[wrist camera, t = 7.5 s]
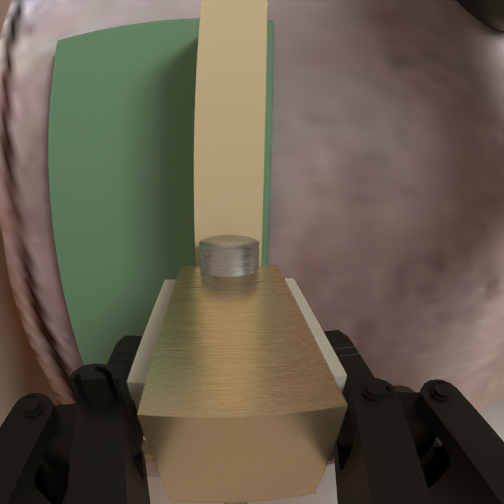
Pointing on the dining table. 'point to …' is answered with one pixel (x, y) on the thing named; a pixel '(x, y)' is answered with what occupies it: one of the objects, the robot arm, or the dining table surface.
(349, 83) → the dining table surface
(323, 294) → the dining table surface
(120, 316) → the board
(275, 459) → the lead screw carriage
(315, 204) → the dining table surface
